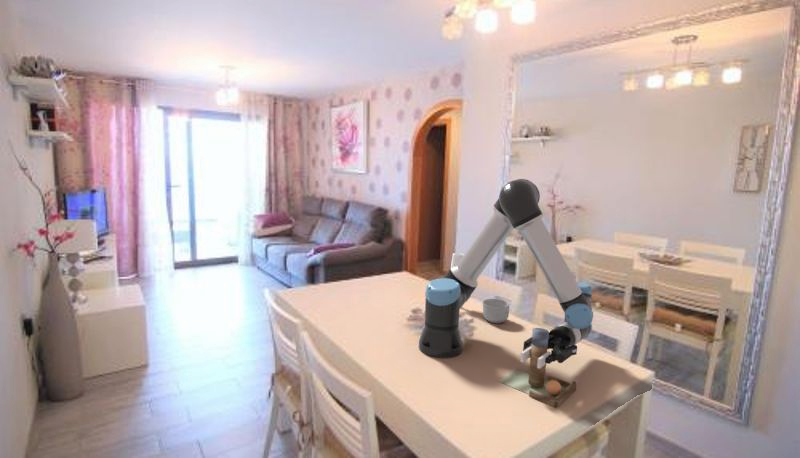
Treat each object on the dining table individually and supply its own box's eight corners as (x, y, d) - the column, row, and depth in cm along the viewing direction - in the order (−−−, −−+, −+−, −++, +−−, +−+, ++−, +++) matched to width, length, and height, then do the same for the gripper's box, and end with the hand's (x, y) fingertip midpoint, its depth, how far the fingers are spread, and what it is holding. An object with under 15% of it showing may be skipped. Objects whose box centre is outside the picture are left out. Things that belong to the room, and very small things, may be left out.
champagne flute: (446, 306, 187) (448, 254, 183) (450, 302, 193) (452, 251, 190) (461, 309, 185) (463, 256, 181) (464, 304, 191) (467, 253, 187)
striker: (529, 386, 119) (534, 333, 116) (527, 378, 123) (531, 327, 121) (545, 387, 118) (550, 334, 116) (542, 380, 123) (546, 328, 120)
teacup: (509, 326, 166) (510, 307, 165) (481, 324, 168) (482, 305, 167) (507, 314, 179) (508, 297, 178) (481, 312, 181) (482, 294, 180)
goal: (497, 382, 122) (497, 374, 122) (518, 368, 132) (518, 360, 131) (557, 408, 110) (558, 399, 110) (575, 390, 119) (576, 382, 119)
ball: (555, 391, 113) (542, 392, 116) (564, 396, 114) (552, 398, 117) (554, 376, 116) (542, 378, 118) (564, 382, 117) (552, 384, 120)
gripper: (591, 357, 127) (559, 385, 110) (537, 340, 139) (501, 362, 122) (593, 334, 126) (562, 358, 109) (538, 318, 138) (502, 338, 121)
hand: (530, 360), depth 116 cm, fingers closed on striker, 4 cm apart
